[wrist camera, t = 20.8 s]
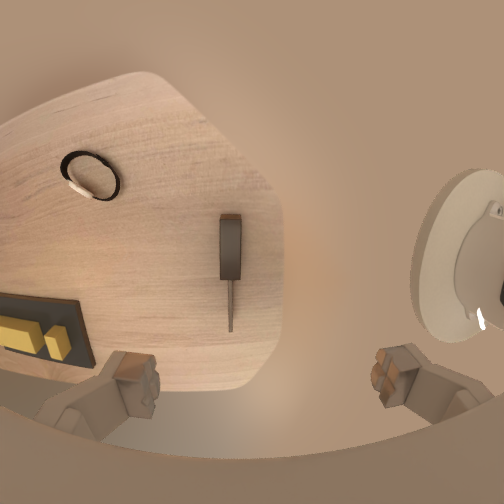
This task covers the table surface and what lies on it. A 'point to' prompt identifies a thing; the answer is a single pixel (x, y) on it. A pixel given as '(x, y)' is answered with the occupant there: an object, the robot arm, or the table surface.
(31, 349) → the butter block
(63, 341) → the butter pat
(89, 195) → the watch
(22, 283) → the table surface
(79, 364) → the butter dish
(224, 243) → the dark brown boxy part
